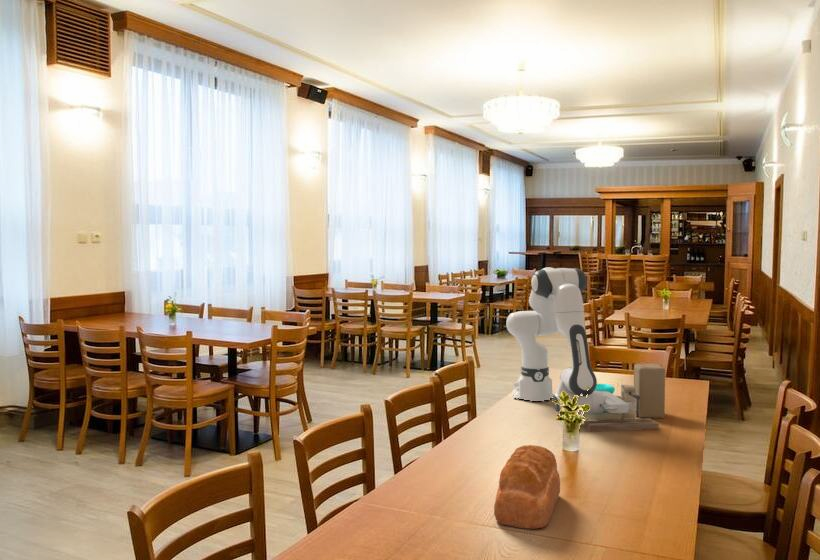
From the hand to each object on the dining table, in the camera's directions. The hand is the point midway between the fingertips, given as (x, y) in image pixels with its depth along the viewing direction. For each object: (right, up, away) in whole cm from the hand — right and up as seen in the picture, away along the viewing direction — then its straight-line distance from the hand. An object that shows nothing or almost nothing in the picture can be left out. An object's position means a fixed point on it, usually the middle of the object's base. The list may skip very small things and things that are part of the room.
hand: (630, 401), depth 259 cm
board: (-6, -8, -8) cm, 13 cm away
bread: (-54, -14, -81) cm, 98 cm away
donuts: (-6, -7, +19) cm, 21 cm away
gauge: (0, -8, -3) cm, 9 cm away
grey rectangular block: (+10, -7, +9) cm, 16 cm away
